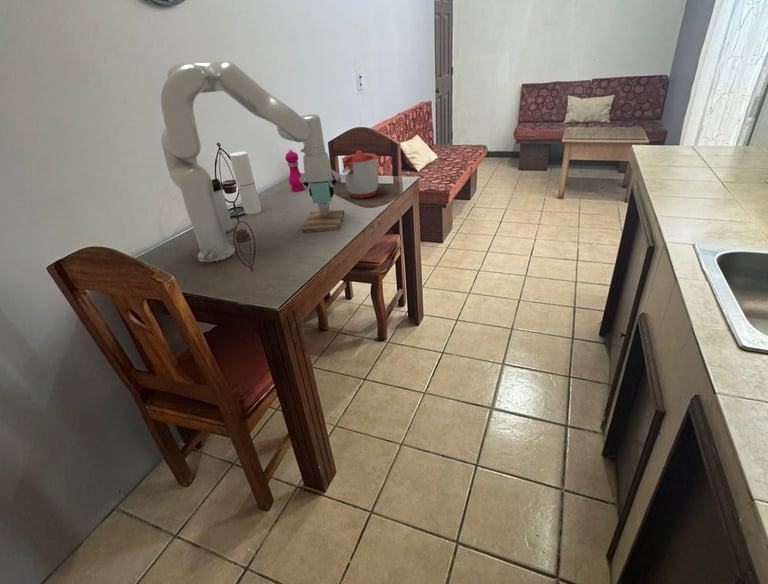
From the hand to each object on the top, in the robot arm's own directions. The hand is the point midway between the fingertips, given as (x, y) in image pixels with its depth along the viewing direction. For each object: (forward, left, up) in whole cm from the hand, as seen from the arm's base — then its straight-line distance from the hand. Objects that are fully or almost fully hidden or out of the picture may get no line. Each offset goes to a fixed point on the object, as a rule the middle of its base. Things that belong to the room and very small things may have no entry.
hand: (322, 196), depth 165 cm
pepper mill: (+43, +20, -9) cm, 49 cm away
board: (-4, 0, -9) cm, 10 cm away
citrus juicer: (+27, -13, -9) cm, 31 cm away
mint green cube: (0, 0, -1) cm, 1 cm away
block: (0, 0, -8) cm, 8 cm away
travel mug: (-5, +40, -9) cm, 41 cm away
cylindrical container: (+16, +35, -9) cm, 40 cm away
